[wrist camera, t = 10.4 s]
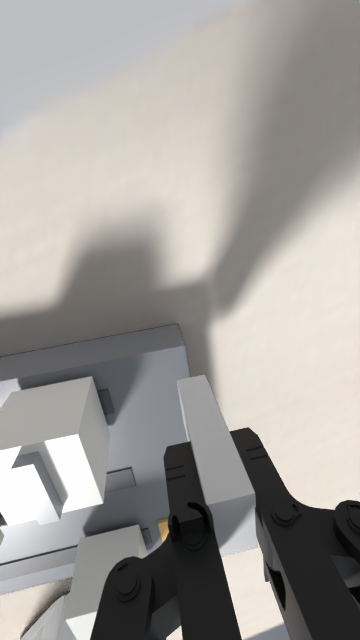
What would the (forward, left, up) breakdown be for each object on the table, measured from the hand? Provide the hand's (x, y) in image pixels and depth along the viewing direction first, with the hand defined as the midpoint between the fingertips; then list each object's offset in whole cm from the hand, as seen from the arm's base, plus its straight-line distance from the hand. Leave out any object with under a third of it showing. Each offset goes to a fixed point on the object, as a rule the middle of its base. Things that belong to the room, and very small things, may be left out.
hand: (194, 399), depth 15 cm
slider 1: (-7, 0, -1) cm, 7 cm away
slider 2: (-7, -12, -1) cm, 14 cm away
